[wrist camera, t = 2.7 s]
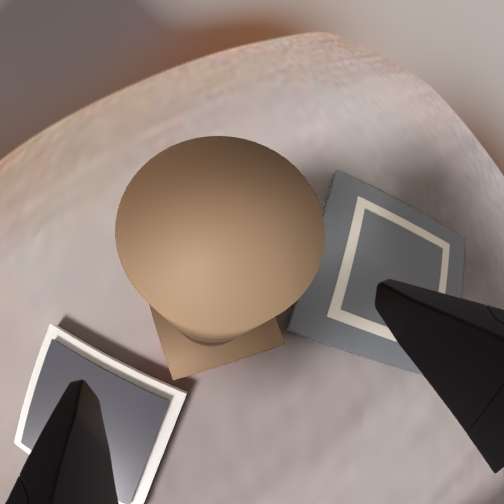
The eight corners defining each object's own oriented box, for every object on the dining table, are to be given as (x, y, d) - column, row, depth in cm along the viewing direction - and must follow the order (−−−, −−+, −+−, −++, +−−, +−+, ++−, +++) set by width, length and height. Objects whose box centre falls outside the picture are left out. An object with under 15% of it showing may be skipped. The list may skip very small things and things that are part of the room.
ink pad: (187, 391, 16) (186, 394, 15) (141, 508, 13) (137, 518, 11) (57, 325, 16) (47, 322, 14) (21, 440, 13) (11, 444, 11)
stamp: (275, 344, 18) (410, 316, 6) (177, 377, 16) (111, 426, 4) (241, 252, 19) (300, 92, 7) (147, 279, 18) (61, 142, 6)
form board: (460, 240, 22) (465, 238, 22) (441, 380, 18) (447, 379, 17) (334, 174, 22) (337, 169, 21) (285, 329, 18) (288, 328, 17)
